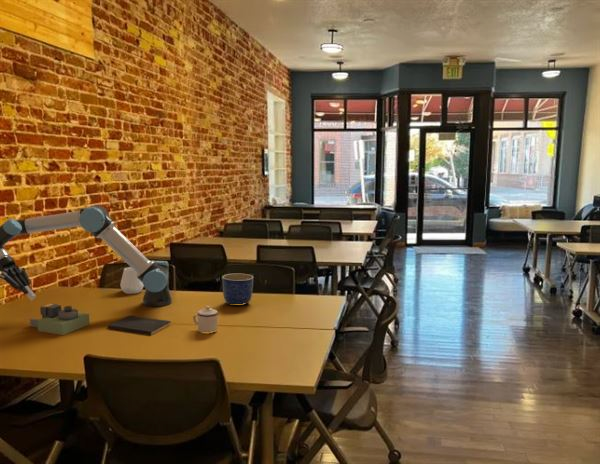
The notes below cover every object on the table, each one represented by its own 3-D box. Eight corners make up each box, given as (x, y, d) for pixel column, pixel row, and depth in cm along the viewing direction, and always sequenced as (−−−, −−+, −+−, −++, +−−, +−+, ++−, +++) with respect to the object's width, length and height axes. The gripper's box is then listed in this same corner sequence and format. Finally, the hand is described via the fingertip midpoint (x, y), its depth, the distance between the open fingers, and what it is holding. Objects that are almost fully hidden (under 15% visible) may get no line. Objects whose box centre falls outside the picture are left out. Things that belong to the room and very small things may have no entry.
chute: (62, 323, 227) (62, 304, 226) (51, 328, 221) (51, 308, 220) (52, 322, 229) (51, 302, 228) (41, 326, 223) (40, 306, 221)
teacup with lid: (221, 329, 227) (221, 305, 226) (211, 335, 219) (211, 310, 217) (198, 325, 231) (198, 301, 230) (188, 331, 223) (188, 307, 221)
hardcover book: (129, 319, 238) (129, 315, 238) (171, 325, 232) (171, 321, 231) (107, 329, 223) (107, 325, 223) (151, 336, 216) (151, 331, 216)
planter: (236, 298, 281) (237, 272, 279) (259, 303, 272) (259, 276, 269) (215, 304, 268) (215, 276, 266) (238, 310, 258) (238, 282, 256)
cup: (115, 293, 282) (115, 270, 280) (127, 288, 295) (127, 265, 293) (137, 295, 280) (137, 271, 278) (148, 289, 293) (148, 267, 291)
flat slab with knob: (89, 324, 228) (88, 303, 227) (63, 335, 213) (62, 312, 212) (51, 318, 235) (50, 298, 233) (23, 328, 220) (22, 307, 218)
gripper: (10, 263, 239) (40, 299, 236) (-14, 268, 226) (17, 307, 224) (18, 253, 236) (48, 289, 234) (-6, 257, 224) (25, 296, 221)
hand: (33, 298), depth 229 cm, fingers closed
